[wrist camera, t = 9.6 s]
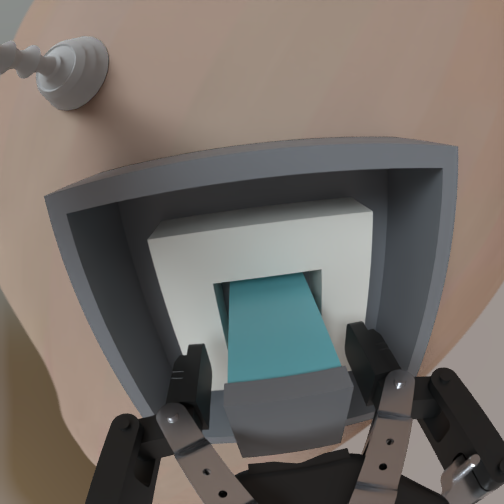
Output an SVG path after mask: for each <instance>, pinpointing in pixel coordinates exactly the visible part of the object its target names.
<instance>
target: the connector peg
mask: <svg viewBox="0 0 504 504" xmlns="http://www.w3.org/2000/svg"><path fill="white" fill-rule="evenodd" d="M353 388H354V386H353V383H352V381H351V378H350V376H349V373H348V371H347V368H346V366H341V363H340V361H339V358H338V356H337V353H336V351H335V348H334V346H333V343H332V341H331V338H330V336H329V333H328V331H327V329H326V326H325V324H324V321H323V319H322V317H321V314H320V312H319V310H318V307H317V305H316V302H315V300H314V298H313V295H312V293H311V291H310V288H309V286H308V284H307V282H306V279H305V277H304V275H303V272H299V273H291V274H284V275H277V276H269V277H261V278H254V279H246V280H238V281H230V296H229V332H228V383H224V409H225V412H226V415H227V417H228V420H229V423H230V426H231V429H232V431H233V434H234V437H235V439H236V442H237V445H238V447H239V450H240V452H241V455H242V458H245V457H257V456H267V455H275V454H283V453H290V452H297V451H303V450H308V449H314V448H319V447H324V446H328V445H333V444H337V443H341V439H342V435H343V431H344V427H345V423H346V419H347V415H348V411H349V406H350V402H351V397H352V393H353Z"/></svg>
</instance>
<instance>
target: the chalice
mask: <svg viewBox="0 0 504 504" xmlns="http://www.w3.org/2000/svg"><path fill="white" fill-rule="evenodd" d="M108 61H109V57H108V53H107V49H106V47H105V46H104V45H103V43H102V42H101V41H100V40H98V39H96V38H94V37H88V36H82V37H79V38H73V39H70V40H65V41H62V42H59V43H57V44H56V45H55V46H53V47H52V48H51V49H50V50H49V51H48V52H47V53H46V54H45V55H44V56H42V55H41V52H40V49H39V47H38V46H36V45H31V46H29V47H27V48H26V49H25V50H22V51H20V50H19V49H17V48H16V44H15V42H13V41H8V42H6V43H4V44H3V45H0V74H3V73H5V72H6V71H7V70H9V69H13V68H14V69H16V71H17V74H18V76H19V77H20V78H24V79H25V78H27V77H29V76H30V75H32V74H33V73H35V72H37V73H36V81H37V87H38V90H39V91H40V93H41V94H42V95H43V96H44V97H45V98H46V99H47V100H48V101H49V102H50V103H51V105H53V106H54V107H56V108H57V109H60V110H66V111H68V110H72V109H77V108H79V107H80V106H82V105H84V104H86V103H87V102H88V101H89V100H90V99H91V98H92V97H93V96H94V95H95V94H96V93H97V92H98V90H99V89H100V87H101V85H102V84H103V82H104V79H105V77H106V74H107V71H108Z"/></svg>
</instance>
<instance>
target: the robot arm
mask: <svg viewBox="0 0 504 504" xmlns="http://www.w3.org/2000/svg"><path fill="white" fill-rule="evenodd" d="M345 355H346V358H347V361H348V363H349V365H350V368H351V370H352V372H353V375H354V377H355V380H356V382H357V384H358V387H359V389H360V392H361V394H362V397H363V399H364V402H365V404H366V407H367V406H371V405H374V407H375V409H376V410H375V413H374V416H373V420H372V423H371V427H370V430H369V434H368V437H367V440H366V443H365V446H364V449H363V451H362V454H352V453H351V454H349V452H348V449H347V448H345V449H341V450H337V451H333V452H328V453H324V454H321V455H319V456H317V457H314V458H312V459H310V460H307V461H305V462H302V463H283V462H266V463H255V464H248V468H249V470H246V471H243V472H241V473H238V474H236V475H235V476H234V474H233V473H232V472H231V471H230V469H229V468H228V467H227V465H226V464H225V463H224V461H223V460H222V459H221V457H220V456H219V455H218V453H217V452H216V451H215V449H214V448H213V446H212V445H211V444H210V442H209V441H208V440H207V439H206V438H205V437H204V435H203V434H202V430H209V421H210V404H211V388H212V367H211V363H210V360H209V357H208V353H207V350H206V347H205V344H204V343H201V344H189V345H188V350H187V355H180V356H179V357H178V358H177V360H176V361H175V362H174V365H173V370H172V375H171V379H170V384H169V389H168V394H167V399H166V403H165V405H163V406H162V407H161V408H160V409H159V410H158V412H157V414H155V415H153V416H149V417H145V418H141V419H137V417H136V416H134V415H132V414H121V415H119V416H117V417H116V418H115V419H114V420H113V421H112V423H111V426H110V429H109V432H108V434H107V437H106V440H105V443H104V446H103V449H102V451H101V454H100V457H99V460H98V463H97V466H96V470H95V473H94V476H93V479H92V482H91V485H90V489H89V492H88V496H87V499H86V502H85V504H152V501H153V495H154V490H155V485H156V480H157V475H158V470H159V465H160V460H161V458H162V457H166V456H170V455H174V454H175V455H174V456H175V458H176V460H177V461H178V463H179V465H180V467H181V468H182V470H183V472H184V473H185V475H186V477H187V478H188V480H189V481H190V483H191V484H192V486H193V488H194V489H195V491H196V492H197V494H198V495H199V497H200V498H201V500H202V501H203V503H204V504H475V503H477V502H478V501H479V500H481V499H483V498H484V497H485V496H487V495H489V494H490V493H491V492H493V491H494V490H496V489H497V488H499V487H500V486H501V485H503V484H504V441H503V440H502V438H501V436H500V435H499V433H498V432H497V430H496V429H495V427H494V426H493V424H492V423H491V421H490V420H489V418H488V417H487V415H486V414H485V413H484V411H483V410H482V409H481V407H480V406H479V404H478V403H477V401H476V400H475V399H474V397H473V396H472V394H471V393H470V392H469V391H468V389H467V388H466V387H465V385H464V384H463V383H462V381H461V380H460V378H459V377H458V376H457V375H456V373H455V372H454V371H453V370H451V369H448V368H438V369H436V370H435V371H434V372H433V373H432V375H431V376H430V377H414V376H413V375H412V374H411V373H410V372H408V371H406V370H402V369H401V367H400V366H399V364H398V362H397V360H396V359H395V357H394V355H393V354H392V352H391V350H390V349H389V347H388V345H387V344H386V343H385V340H384V339H383V337H382V335H381V334H380V333H378V332H377V331H376V330H374V329H370V330H368V329H367V328H366V326H365V324H364V323H363V321H359V322H354V323H349V324H347V327H346V338H345ZM412 419H417V420H418V422H419V424H420V426H421V428H422V429H423V431H424V433H425V435H426V437H427V438H428V440H429V442H430V444H431V446H432V448H433V449H434V451H435V453H436V455H437V457H438V459H439V461H440V463H441V465H442V466H443V468H444V470H445V471H444V472H443V474H442V476H441V485H442V494H441V495H440V494H439V493H436V492H434V491H432V490H430V489H428V488H426V487H424V486H422V485H420V484H418V483H416V482H415V481H413V480H411V479H409V478H407V477H405V476H403V475H401V473H402V469H403V465H404V461H405V456H406V452H407V447H408V443H409V437H410V432H411V426H412Z"/></svg>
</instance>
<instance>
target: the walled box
mask: <svg viewBox="0 0 504 504" xmlns="http://www.w3.org/2000/svg"><path fill="white" fill-rule="evenodd" d="M457 182H458V146H452V145H447V144H441V143H435V142H429V141H422V140H415V139H407V138H399V137H334V138H313V139H298V140H285V141H274V142H264V143H255V144H246V145H238V146H231V147H224V148H217V149H210V150H204V151H198V152H192V153H186V154H181V155H176V156H170V157H165V158H160V159H156V160H151V161H146V162H142V163H137V164H133V165H129V166H125V167H121V168H117V169H113V170H109V171H105V172H101V173H99V174H96V175H93V176H91V177H88V178H86V179H83V180H81V181H78V182H76V183H73V184H71V185H68V186H66V187H64V188H61V189H59V190H57V191H55V192H52V193H50V194H48V195H46V196H44V198H45V202H46V206H47V210H48V214H49V217H50V221H51V224H52V228H53V231H54V235H55V238H56V241H57V244H58V247H59V250H60V253H61V256H62V259H63V262H64V265H65V267H66V270H67V273H68V276H69V278H70V281H71V283H72V286H73V288H74V291H75V293H76V296H77V298H78V300H79V303H80V305H81V307H82V310H83V312H84V314H85V316H86V318H87V321H88V323H89V325H90V327H91V329H92V331H93V333H94V335H95V337H96V339H97V341H98V343H99V345H100V347H101V349H102V351H103V353H104V355H105V356H106V358H107V360H108V362H109V364H110V366H111V367H112V369H113V371H114V373H115V374H116V376H117V378H118V379H119V381H120V383H121V385H122V386H123V388H124V389H125V391H126V393H127V394H128V396H129V397H130V399H131V401H132V402H133V404H134V405H135V407H136V408H137V410H138V411H139V413H140V414H141V416H142V417H143V418H145V417H149V416H153V415H155V414H157V412H158V410H159V409H160V408H161V407H162V406H163V405H165V403H166V399H167V394H168V389H169V384H170V379H171V375H172V370H173V365H174V362H175V361H176V360H177V358H178V357H179V356H180V355H187V350H188V345H189V344H201V343H204V344H205V347H206V350H207V353H208V357H209V360H210V363H211V367H212V388H211V404H210V421H209V430H202V434H203V435H204V437H205V438H206V439H207V440H208V441H209V442H210V444H217V443H237V442H236V439H235V437H234V434H233V431H232V429H231V426H230V423H229V420H228V417H227V415H226V412H225V409H224V383H228V332H229V296H230V281H238V280H246V279H254V278H261V277H269V276H277V275H284V274H291V273H299V272H303V275H304V277H305V279H306V282H307V284H308V286H309V288H310V291H311V293H312V295H313V298H314V300H315V302H316V305H317V307H318V310H319V312H320V314H321V317H322V319H323V321H324V324H325V326H326V329H327V331H328V333H329V336H330V338H331V341H332V343H333V346H334V348H335V351H336V353H337V356H338V358H339V361H340V363H341V366H346V368H347V371H348V373H349V376H350V378H351V381H352V383H353V386H354V388H353V393H352V397H351V402H350V406H349V411H348V415H347V419H346V423H345V426H347V425H351V424H355V423H359V422H363V421H366V420H370V419H373V416H374V413H375V410H376V409H375V407H374V405H371V406H367V407H366V404H365V402H364V399H363V397H362V394H361V392H360V389H359V387H358V384H357V382H356V380H355V377H354V375H353V372H352V370H351V368H350V365H349V363H348V361H347V358H346V355H345V338H346V327H347V324H349V323H354V322H359V321H363V323H364V324H365V326H366V328H367V329H368V330H370V329H374V330H376V331H377V332H378V333H380V334H381V335H382V337H383V339H384V340H385V343H386V344H387V345H388V347H389V349H390V350H391V352H392V354H393V355H394V357H395V359H396V360H397V362H398V364H399V366H400V367H401V369H402V370H406V371H408V372H410V373H411V374H412V375H413V376H414V377H416V376H417V373H418V371H419V368H420V365H421V363H422V360H423V357H424V354H425V351H426V348H427V345H428V342H429V339H430V336H431V332H432V329H433V326H434V322H435V319H436V315H437V311H438V307H439V304H440V299H441V295H442V291H443V287H444V282H445V277H446V272H447V267H448V262H449V256H450V250H451V243H452V236H453V229H454V220H455V210H456V199H457Z"/></svg>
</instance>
